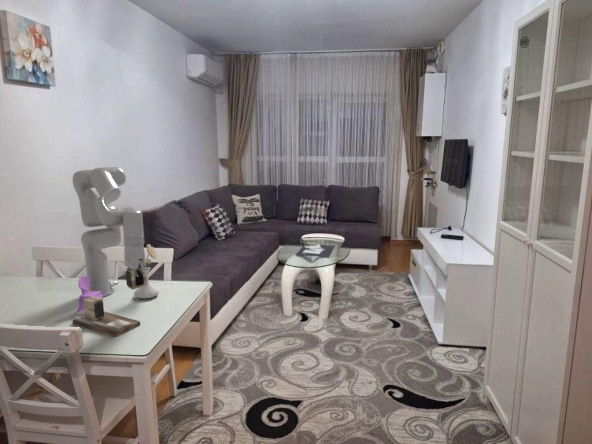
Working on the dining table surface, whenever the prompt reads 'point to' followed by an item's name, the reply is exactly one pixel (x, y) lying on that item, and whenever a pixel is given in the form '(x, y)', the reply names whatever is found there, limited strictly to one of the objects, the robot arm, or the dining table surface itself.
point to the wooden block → (131, 279)
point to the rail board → (103, 319)
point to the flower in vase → (149, 289)
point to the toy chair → (86, 291)
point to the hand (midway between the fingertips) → (137, 283)
